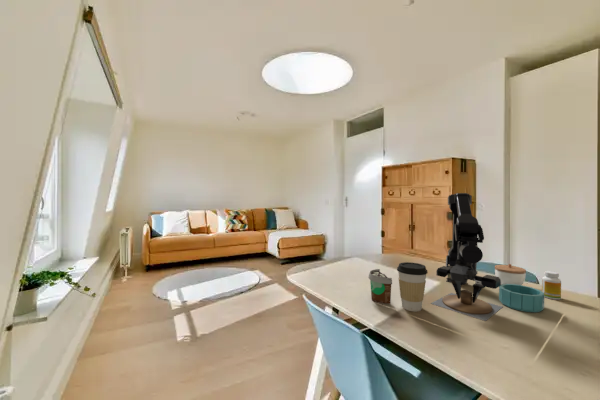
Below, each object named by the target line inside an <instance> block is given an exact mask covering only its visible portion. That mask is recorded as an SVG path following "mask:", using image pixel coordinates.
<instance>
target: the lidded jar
mask: <svg viewBox="0 0 600 400" xmlns="http://www.w3.org/2000/svg"><path fill="white" fill-rule="evenodd" d="M494 273H495V274H494V275H495V276H496V277H499V278H500V280H501V284H517V285H524V283H525V280H526V274H527V270H526V269H525V268H523V267H519V266H516V265H512V263H508V264H496V265H494Z"/></svg>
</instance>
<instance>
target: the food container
mask: <svg viewBox="0 0 600 400" xmlns="http://www.w3.org/2000/svg"><path fill="white" fill-rule="evenodd" d="M368 279H369V280H370V294H371V295H370V296H371V297H370V298H371V300H372V301H373V302H375V303H377V304H379V305H382V304H385V305H387V304H388V305H390V304H391V298H392V297H391V296H392V285H393V278H392V277H388V276H387V275H386V274H385V273H382V272H381V269H380V268H375V269H372V270H370V272H369V273H368Z"/></svg>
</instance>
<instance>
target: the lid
mask: <svg viewBox="0 0 600 400" xmlns="http://www.w3.org/2000/svg"><path fill="white" fill-rule="evenodd" d="M446 295H447V296H446ZM446 295H444V296H442V297H443V298H442V297H441V298H442V302H443V303H444V304H445V305H446V306H447V307H449V308H451V309H454V310H457V311H460V312H464V313H470V314H489V313H491V312H492V306H491V305H490V304H488V303H489V302H487V301H484V300H482V299H479V298H477V299H476V301H475V303H473V301H472V297H473V291H471V290H467V289H461V297H460V299H458V297H457V295H448V294H446Z"/></svg>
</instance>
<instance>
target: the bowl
mask: <svg viewBox="0 0 600 400" xmlns="http://www.w3.org/2000/svg"><path fill="white" fill-rule="evenodd" d="M498 291H499V292H498V301H500V303H501V304H502V305H504V306H505V307H507V308H510V309H513V310H516V311H521V312H525V313H526V312H527V313H540V312H542V311H543V310H544V309H545V297H544V293H543V292H542V290H540V289H537V288H534V287H532V286H527V285H524V284H522V285H517V284H501V286H499V287H498Z"/></svg>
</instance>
